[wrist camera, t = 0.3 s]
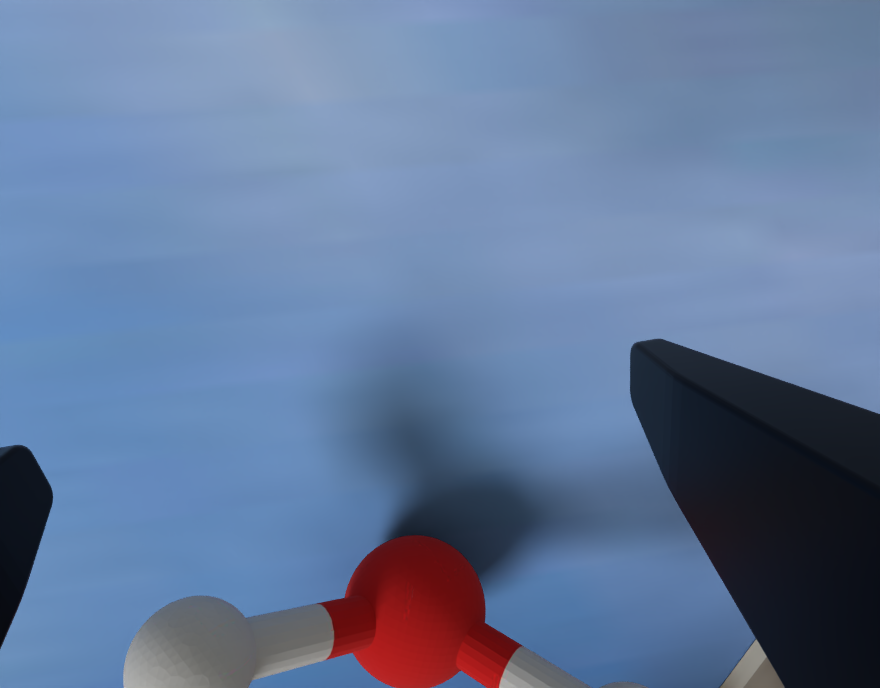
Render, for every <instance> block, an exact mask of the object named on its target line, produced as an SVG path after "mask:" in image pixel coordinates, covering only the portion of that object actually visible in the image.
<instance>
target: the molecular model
mask: <svg viewBox="0 0 880 688" xmlns="http://www.w3.org/2000/svg"><path fill="white" fill-rule="evenodd" d="M349 653H353V654H354V655H355V657H356V659H357V660H358V661H359V663H360V664H361V665H362V666H363V668H364V669H365V670H366V671H368V672H369V673H370V674H371V675H372V676H373V677H375V678H376V679H378V680H379V681H381V682H383V683H385V684H387V685H390V686H392V687H396V688H430V687H434V686H436V685H439V684H441V683H443V682H445V681H447V680H449V679H450V678H452V677H453V676H455V675H456V674H457V673H458V672H459V671H463V672H464V673H466V674H467V675H469V676H470V677H472V678H473V679H475V680H476V681H478V682H479V683H481V684H482V685H484V686H485V687H487V688H592V687H590V686H588V685H587V684H585V683H583V682H582V681H580V680H578V679H577V678H575V677H573V676H572V675H570V674H568V673H567V672H565V671H563V670H562V669H560V668H559V667H557V666H555V665H554V664H552V663H550V662H549V661H547V660H545V659H544V658H542V657H540V656H539V655H537V654H535V653H534V652H532V651H530V650H529V649H527V648H525V647H524V646H522V645H521V644H519V643H517V642H516V641H514V640H512V639H511V638H509V637H507V636H506V635H504V634H502V633H501V632H499V631H497V630H496V629H494V628H492V627H491V626H489V625H487V624H486V623H485V599H484V594H483V589H482V586H481V583H480V581H479V578H478V576H477V574H476V572H475V571H474V569H473V567H472V566H471V564H470V563H469V562H468V560H467V559H466V558H465V557H464V556H463V555H462V554H461V553H460V552H459V551H458V550H456V549H455V548H454V547H452V546H451V545H449V544H447V543H445V542H443V541H441V540H439V539H436V538H432V537H428V536H421V535H409V536H403V537H399V538H395V539H392V540H390V541H388V542H385V543H383V544H382V545H380V546H378V547H377V548H375V549H374V550H373V551H372V552H370V553H369V554H368V555H367V556H366V557H365V558H364V559H363V560H362V562H361V563H360V564H359V566H358V567H357V568H356V570H355V572H354V573H353V575H352V577H351V579H350V582H349V584H348V587H347V590H346V594H345V598H342V599H337V600H332V601H327V602H322V603H317V604H312V605H307V606H302V607H297V608H292V609H287V610H282V611H277V612H272V613H267V614H263V615H258V616H253V617H248V618H245V617H244V615H243V614H242V613H241V612H240V611H239V610H238V609H237V608H236V607H234V606H233V605H231V604H230V603H228V602H226V601H224V600H222V599H219V598H216V597H211V596H191V597H186V598H183V599H180V600H177V601H174V602H172V603H170V604H168V605H166V606H165V607H163V608H161V609H160V610H159V611H157V612H156V613H155V614H153V615H152V616H151V617H150V618H149V619H148V620H147V621H146V622H145V623H144V624H143V626H142V627H141V628H140V630H139V631H138V632H137V634H136V635H135V637H134V639H133V641H132V643H131V645H130V648H129V650H128V653H127V656H126V660H125V664H124V680H123V682H124V688H248V687H249V685H250V683H251V681H252V680H255V679H259V678H262V677H266V676H269V675H273V674H277V673H280V672H284V671H287V670H291V669H295V668H298V667H302V666H306V665H309V664H313V663H316V662H320V661H324V660H327V659H331V658H334V657H338V656H342V655H345V654H349ZM600 688H648V687H645V686H643V685H640V684H637V683H632V682H614V683H610V684H606V685H604V686H602V687H600Z"/></svg>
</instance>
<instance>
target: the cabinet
mask: <svg viewBox="0 0 880 688" xmlns="http://www.w3.org/2000/svg"><path fill="white" fill-rule="evenodd" d="M720 688H785V687H784V686H783V684H782V682H781V680H780V679H779V677H778V675H777V674H776V672H775V670H774V668H773V667H772V665H771V663H770V662H769V660H768V658H767V656H766V655H765V653H764V651H763V650H762V648H761V646H760V644H759V643H758V641H757V639H756V640H755V641H754V643H753V644H752V645H751V647H750V648H749V649H748V651H747V652H746V653H745V655H744V656H743V658H742V659H741V660H740V662H739V663H738V664H737V666H736V667H735V668H734V670H733V671H732V672H731V674H730V675H729V676H728V678H727V679H726V680H725V682H724V683H723V684H722V686H721V687H720Z"/></svg>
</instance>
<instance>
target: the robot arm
mask: <svg viewBox="0 0 880 688" xmlns="http://www.w3.org/2000/svg"><path fill="white" fill-rule="evenodd" d="M630 394H631V400H632V403H633V406H634V409H635V411H636V413H637V416H638V418H639V420H640V423H641V425H642V428H643V430H644V432H645V435H646V437H647V439H648V442H649V444H650V446H651V449H652V451H653V453H654V456H655V458H656V460H657V463H658V465H659V467H660V470H661V472H662V474H663V477H664V479H665V481H666V483H667V485H668V487H669V489H670V491H671V493H672V495H673V497H674V498H675V500H676V502H677V504H678V505H679V507H680V509H681V511H682V512H683V514H684V516H685V517H686V519H687V521H688V523H689V524H690V526H691V528H692V529H693V531H694V533H695V535H696V536H697V538H698V540H699V541H700V543H701V545H702V547H703V548H704V550H705V552H706V553H707V555H708V557H709V559H710V560H711V562H712V564H713V565H714V567H715V569H716V571H717V572H718V574H719V576H720V577H721V579H722V581H723V583H724V584H725V586H726V588H727V590H728V591H729V593H730V595H731V596H732V598H733V600H734V602H735V603H736V605H737V607H738V608H739V610H740V612H741V614H742V615H743V617H744V619H745V620H746V622H747V624H748V626H749V627H750V629H751V631H752V632H753V634H754V636H755V638H756V639H757V641H758V643H759V644H760V646H761V648H762V650H763V651H764V653H765V655H766V656H767V658H768V660H769V662H770V663H771V665H772V667H773V668H774V670H775V672H776V674H777V675H778V677H779V679H780V680H781V682H782V684H783V686H784V687H785V688H880V414H878V413H875V412H872V411H869V410H866V409H863V408H860V407H858V406H855V405H852V404H849V403H846V402H843V401H840V400H837V399H834V398H831V397H828V396H826V395H823V394H820V393H817V392H814V391H811V390H808V389H805V388H802V387H799V386H797V385H794V384H791V383H788V382H785V381H782V380H779V379H776V378H773V377H770V376H768V375H765V374H762V373H759V372H756V371H753V370H750V369H747V368H744V367H741V366H739V365H736V364H733V363H730V362H727V361H724V360H721V359H718V358H715V357H712V356H710V355H707V354H704V353H701V352H698V351H695V350H692V349H689V348H686V347H683V346H681V345H678V344H675V343H672V342H669V341H666V340H663V339H652V340H646V341H640V342H636V343H634V344H633V346H632V348H631V353H630ZM52 503H53V492H52V489H51V486H50V484H49V482H48V480H47V479H46V477H45V475H44V473H43V471H42V470H41V468H40V466H39V464H38V463H37V461H36V459H35V457H34V455H33V454H32V452H31V451H30V450H29V449H28V448H27V447H25V446H23V445H13V446H7V447H1V448H0V649H1V646H2V644H3V642H4V639H5V637H6V635H7V632H8V630H9V628H10V626H11V623H12V621H13V619H14V616H15V614H16V612H17V609H18V607H19V604H20V602H21V599H22V597H23V594H24V591H25V588H26V585H27V582H28V579H29V576H30V573H31V570H32V567H33V564H34V560H35V557H36V554H37V551H38V548H39V545H40V541H41V538H42V535H43V532H44V529H45V526H46V522H47V519H48V516H49V513H50V510H51V507H52Z"/></svg>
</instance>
